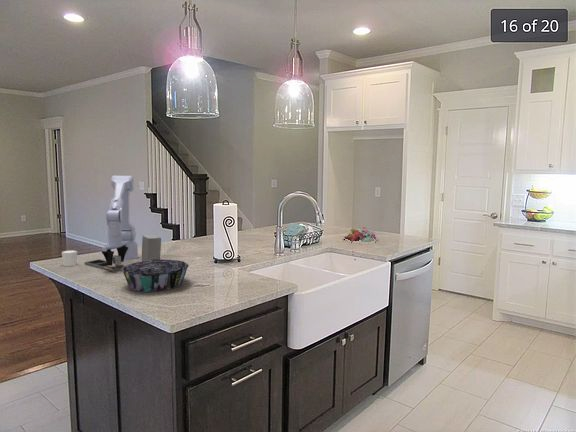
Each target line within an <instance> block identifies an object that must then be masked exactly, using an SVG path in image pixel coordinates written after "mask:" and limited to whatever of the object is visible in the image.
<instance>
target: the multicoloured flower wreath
mask: <svg viewBox="0 0 576 432" xmlns="http://www.w3.org/2000/svg"><path fill="white" fill-rule="evenodd" d="M343 238H345V239H348V240H350V241H351V242H353V241H359V240H361V241H362V242H371V241H374V239H377V236H376V232H373V231H372V230H371V231H370V230H369V229H368V228H367V227H366V226H365V227H362V228H361V229H356V228H351V229H350V233H348V235H346V236H344V237H343ZM365 238H366V239H365ZM373 238H374V239H373Z"/></svg>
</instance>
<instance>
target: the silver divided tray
mask: <svg viewBox="0 0 576 432" xmlns="http://www.w3.org/2000/svg"><path fill="white" fill-rule="evenodd" d="M84 265H85V266H89V267H93V268H96V269H99V270H104V271H107V272H109V273H115V274H116V273H119V272H123V271H122V270H121V269H122V268H123V267H124V266H126V265H124V264H121V268H117V269H111V268H108V265H107V262H106V260H104V259H100V258H99V259H94V260H89V261H84Z"/></svg>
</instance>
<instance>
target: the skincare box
mask: <svg viewBox="0 0 576 432" xmlns="http://www.w3.org/2000/svg"><path fill="white" fill-rule="evenodd" d="M141 241H142V242H141V244H142V245H141V260H140V261H145V260H153V259H161V247H162V237H160V236H158V235H156V234H143V235H142V240H141Z"/></svg>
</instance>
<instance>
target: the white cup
mask: <svg viewBox="0 0 576 432" xmlns="http://www.w3.org/2000/svg"><path fill="white" fill-rule="evenodd" d="M61 258H62V265H63V266H62V267H74V266H77V261H78V250H73V249H71V250H64V251H61Z"/></svg>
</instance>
